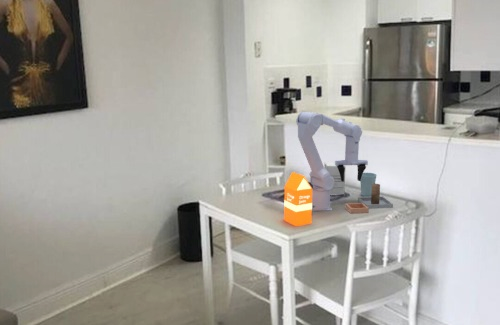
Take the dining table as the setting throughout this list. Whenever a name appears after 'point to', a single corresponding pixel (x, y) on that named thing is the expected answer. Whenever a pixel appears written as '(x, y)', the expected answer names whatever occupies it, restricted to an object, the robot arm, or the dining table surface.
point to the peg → (375, 194)
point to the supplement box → (335, 178)
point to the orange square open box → (357, 208)
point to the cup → (367, 183)
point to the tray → (382, 204)
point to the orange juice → (298, 200)
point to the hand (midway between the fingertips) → (350, 180)
